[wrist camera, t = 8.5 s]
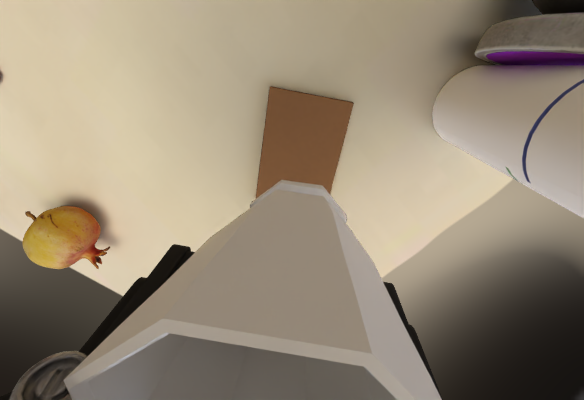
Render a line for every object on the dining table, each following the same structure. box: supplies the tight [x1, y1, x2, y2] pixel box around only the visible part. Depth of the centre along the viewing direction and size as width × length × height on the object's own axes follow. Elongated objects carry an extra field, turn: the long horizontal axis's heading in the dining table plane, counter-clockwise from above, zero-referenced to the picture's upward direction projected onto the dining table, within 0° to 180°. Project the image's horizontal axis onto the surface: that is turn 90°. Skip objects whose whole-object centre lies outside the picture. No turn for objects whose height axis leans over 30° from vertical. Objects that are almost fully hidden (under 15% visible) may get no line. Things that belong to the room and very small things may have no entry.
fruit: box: [23, 206, 110, 269], centre depth 31 cm, size 7×7×10 cm
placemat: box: [256, 87, 354, 198], centre depth 28 cm, size 12×8×1 cm, turn 170°
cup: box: [64, 180, 442, 400], centre depth 9 cm, size 7×10×8 cm
